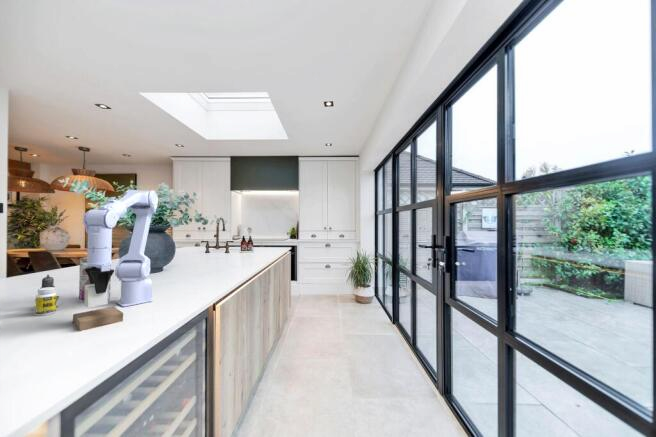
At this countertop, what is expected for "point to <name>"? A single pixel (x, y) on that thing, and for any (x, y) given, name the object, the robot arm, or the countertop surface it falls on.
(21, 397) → the countertop surface
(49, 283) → the salt shaker
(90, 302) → the white small block
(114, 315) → the walnut block
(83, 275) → the candy bar box
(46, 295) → the supplement bottle
